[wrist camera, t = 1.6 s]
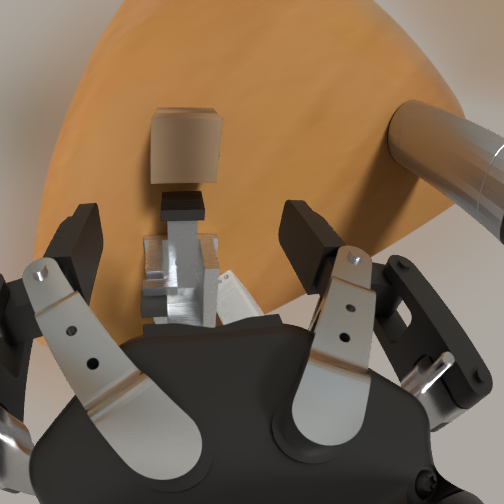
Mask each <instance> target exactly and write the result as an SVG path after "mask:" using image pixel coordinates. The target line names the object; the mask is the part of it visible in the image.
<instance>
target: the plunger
mask: <svg viewBox="0 0 504 504" xmlns="http://www.w3.org/2000/svg"><path fill="white" fill-rule="evenodd" d="M204 217H205V208H204V203H203V198H202V193H201V191H178V192H162V202H161V221H167V225H168V250H169V279H149V280H143V294H144V296H159V295H178V290H177V289H183V288H196V247H197V220H204Z"/></svg>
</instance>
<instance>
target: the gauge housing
mask: <svg viewBox="0 0 504 504" xmlns="http://www.w3.org/2000/svg"><path fill="white" fill-rule="evenodd" d="M144 245H145V254H146V264H145V271H146V278H147V280H149V279H169V250H168V235H145V237H144ZM217 247H218V235H217V233H202V234H197V247H196V288H183V289H177V290H178V295H167V307H168V317H153V320H154V324H168V323H181V324H188V325H195V326H203V327H211V328H214V327H215V324H216V310H217V297H218V284H219V272H220V268H219V263H218V259H217Z"/></svg>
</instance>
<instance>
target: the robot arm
mask: <svg viewBox="0 0 504 504" xmlns="http://www.w3.org/2000/svg"><path fill="white" fill-rule="evenodd" d="M388 144H389V149H390V152H391V155H392V156H393V158H394V160H395V161H396V162H397V163H399V164H400V165H402V166H403V167H405V168H406V169H408V170H410V171H411V172H413V173H414V174H416V175H417V176H418V177H420V178H421V179H423V180H424V181H426V182H427V183H429V184H430V185H431V186H433V187H434V188H436V189H437V190H438V191H440V192H441V193H443V194H444V195H445V196H447V197H448V198H449V199H451V200H452V201H453V202H454V203H456V204H457V205H459V206H460V207H461V208H462V209H464V210H465V211H466V212H467V213H468V214H469V215H471V216H472V217H473V218H474V219H476V220H477V221H478V222H479V223H480V224H482V225H483V226H484V227H485V228H486V229H487V230H488V231H489V232H491V233H492V234H493V235H494V236H495V237H496V238H497V239H498V240H499V241H500V242H502V244H504V138H503V137H501V136H500V135H498V134H496V133H494V132H492V131H490V130H488V129H486V128H484V127H482V126H480V125H478V124H476V123H474V122H471V121H469V120H467V119H465V118H463V117H460V116H458V115H456V114H453V113H451V112H448V111H446V110H443V109H441V108H438V107H435V106H433V105H430V104H427V103H424V102H421V101H417V100H414V101H409V102H406V103H404V104H403V105H402V106H401V107H400V108H399V109H398V110H397V111H396V112H395V114H394V116H393V118H392V120H391V123H390V126H389V132H388ZM278 236H279V242H280V245H281V247H282V248H283V250H284V252H285V254H286V256H287V258H288V259H289V261H290V263H291V265H292V267H293V269H294V270H295V272H296V274H297V276H298V278H299V280H300V282H301V283H302V285H303V287H304V289H305V291H306V293H307V295H312V294H319V295H320V298H319V300H318V302H317V305H316V308H315V311H314V314H313V317H312V320H311V323H310V326H309V328H308V330H306V329H304V328H301V327H298V326H294V325H289V324H283V323H282V321H281V318H280V316H279V314H274V315H265V316H256V317H247V318H244V319H241V320H238V321H235V322H232V323H229V324H225V325H222V326H219V327H214V328H211V327H203V326H195V325H188V324H181V323H168V324H145V325H143V335H141V336H138V337H135V338H133V339H130V340H128V341H126V342H125V343H123V344H121V345H120V346H118V345H117V344H116V342H115V341H114V340H113V339H112V337H111V336H110V335H109V334H108V332H107V331H106V330H105V328H104V327H103V326H102V324H101V323H100V322H99V320H98V319H97V318H96V316H95V315H94V314H93V312H92V311H91V309H90V308H89V303H90V298H91V294H92V290H93V285H94V281H95V277H96V273H97V269H98V265H99V262H100V258H101V254H102V251H103V234H102V228H101V222H100V216H99V210H98V205H97V204H96V203H88V204H79V206H78V207H77V209H76V211H75V213H74V214H73V216H72V217H68V218H67V219H65V220H64V221H63V222H62V223H61V224H60V226H59V227H58V229H57V231H56V233H55V235H54V237H53V239H52V240H51V242H50V244H49V246H48V248H47V250H46V252H45V254H44V256H43V258H40V259H37V260H35V261H33V262H32V263H30V264H29V265H28V266H27V267H26V269H25V270H24V272H23V275H22V278H21V279H18V280H15V281H12V282H8V283H6V282H5V280H4V278H3V276H2V274H0V489H1V490H4V491H7V492H11V493H19V492H23V493H26V494H30V495H34V496H36V497H37V499H38V501H39V502H40V504H484V503H483V502H482V501H481V500H480V499H479V498H478V497H477V496H475V495H474V494H472V493H470V492H467V491H465V490H462V489H460V488H458V487H456V486H455V485H453V484H451V483H450V482H448V481H447V480H445V479H444V478H443V477H442V476H441V475H440V474H439V473H438V471H437V470H436V468H435V465H434V462H433V457H432V451H431V442H430V432H435V431H438V430H439V429H441V428H442V427H444V426H445V425H447V424H448V423H450V422H452V421H453V420H454V419H456V418H457V417H459V416H460V415H461V414H463V413H464V412H466V411H467V410H468V409H470V408H471V407H473V406H474V405H475V404H476V403H478V402H479V401H480V400H481V399H483V398H484V397H485V396H487V395H488V394H489V393H490V392H491V390H492V386H493V382H492V377H491V374H490V372H489V370H488V368H487V366H486V365H485V363H484V361H483V360H482V358H481V356H480V355H479V353H478V352H477V350H476V348H475V347H474V345H473V344H472V342H471V341H470V339H469V337H468V336H467V334H466V333H465V331H464V330H463V328H462V327H461V326H460V324H459V323H458V321H457V320H456V318H455V317H454V315H453V314H452V313H451V311H450V310H449V309H448V307H447V306H446V304H445V303H444V302H443V300H442V299H441V298H440V296H439V295H438V294H437V293H436V291H435V290H434V289H433V287H432V286H431V285H430V283H429V282H428V281H427V280H426V279H425V277H424V276H423V275H422V273H421V272H420V271H419V270H418V269H417V268H416V266H415V265H414V264H413V263H412V262H411V261H410V260H408V259H407V258H405V257H402V256H399V255H392V256H390V257H389V259H388V261H387V263H386V265H384V264H379V263H373V262H372V259H371V258H370V256H369V255H368V254H367V253H366V252H365V251H363V250H361V249H359V248H357V247H354V246H347V245H346V244H345V243H344V242H343V240H342V239H341V238H340V237H339V236H338V234H337V233H336V232H335V231H333V228H332V227H331V226H330V225H329V224H328V222H327V221H326V220H325V219H324V218H323V217H322V216H320V215H319V214H317V213H316V212H314V211H313V210H312V209H311V208H310V207H309V206H308V204H307V203H306V202H305V201H303V200H287V201H286V202H285V205H284V209H283V214H282V218H281V223H280V227H279V234H278ZM402 300H403V301H404V303H405V304H406V306H407V307H408V308H409V310H410V312H411V315H412V320H411V324H410V325H409V326H408V327H407V326H406V324H405V323H404V321H403V320H402V318H401V316H400V315H399V313H398V312H397V310H396V309H397V308H398V306H399V304H400V303H401V301H402ZM373 331H374V333H375V335H376V336H377V338H378V340H379V342H380V344H381V346H382V348H383V349H384V351H385V353H386V355H387V357H388V359H389V361H390V363H391V365H392V367H393V368H394V371H395V372H396V374H397V376H398V379H399V381H400V383H401V387H400V386H398V385H396V384H395V383H393V382H391V381H390V380H388V379H386V378H385V377H383V376H381V375H380V374H378V373H376V372H375V371H373V370H372V369H370V368H368V364H369V357H370V350H371V343H372V334H373ZM41 336H44V338H45V340H46V342H47V344H48V347H49V348H50V350H51V352H52V354H53V356H54V358H55V360H56V362H57V364H58V366H59V367H60V369H61V371H62V372H63V374H64V376H65V378H66V380H67V381H68V383H69V385H70V386H71V388H72V389H73V391H74V393H75V396H74V397H73V398H72V399H71V401H70V402H69V403H68V404H67V405H66V407H65V408H64V409H63V410H62V412H61V413H60V414H59V415H58V417H57V418H56V419H55V420H54V422H53V423H52V424H51V425H50V427H49V428H48V429H47V430H46V432H45V433H44V434H43V436H42V437H41V438H40V439H39V441H38V442H37V443H36V445H35V447H34V444H33V443H32V441H31V436H30V433H29V430H28V429H27V427H26V426H25V425H24V424H23V418H24V401H25V389H26V381H27V373H28V366H29V360H30V353H31V347H32V343H33V339H34V338H37V337H41Z"/></svg>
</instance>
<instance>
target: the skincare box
mask: <svg viewBox="0 0 504 504" xmlns="http://www.w3.org/2000/svg"><path fill="white" fill-rule="evenodd" d="M216 312H217V314H218V316H219V318H220V320H221V322H222V324H223V325H225V324H229V323H232V322H235V321H238V320H241V319H244V318H247V317H256V316H265V315H264V313H263V312H262V310H261V309H260V307H259V306H258V305H257V303H256V302H255V300H254V299H253V297H252V296H251V294H250V293H249V292H248V290H247V289H246V288H245V287H244V285H243V284H242V283H241V282H240V281H239V280H238V278H237V277H236V276H235V275H234V274H233V272H232V271H231V270H228V271H227V272H225V273H224V274H222V275H220V276H219V284H218V297H217V310H216Z"/></svg>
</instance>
